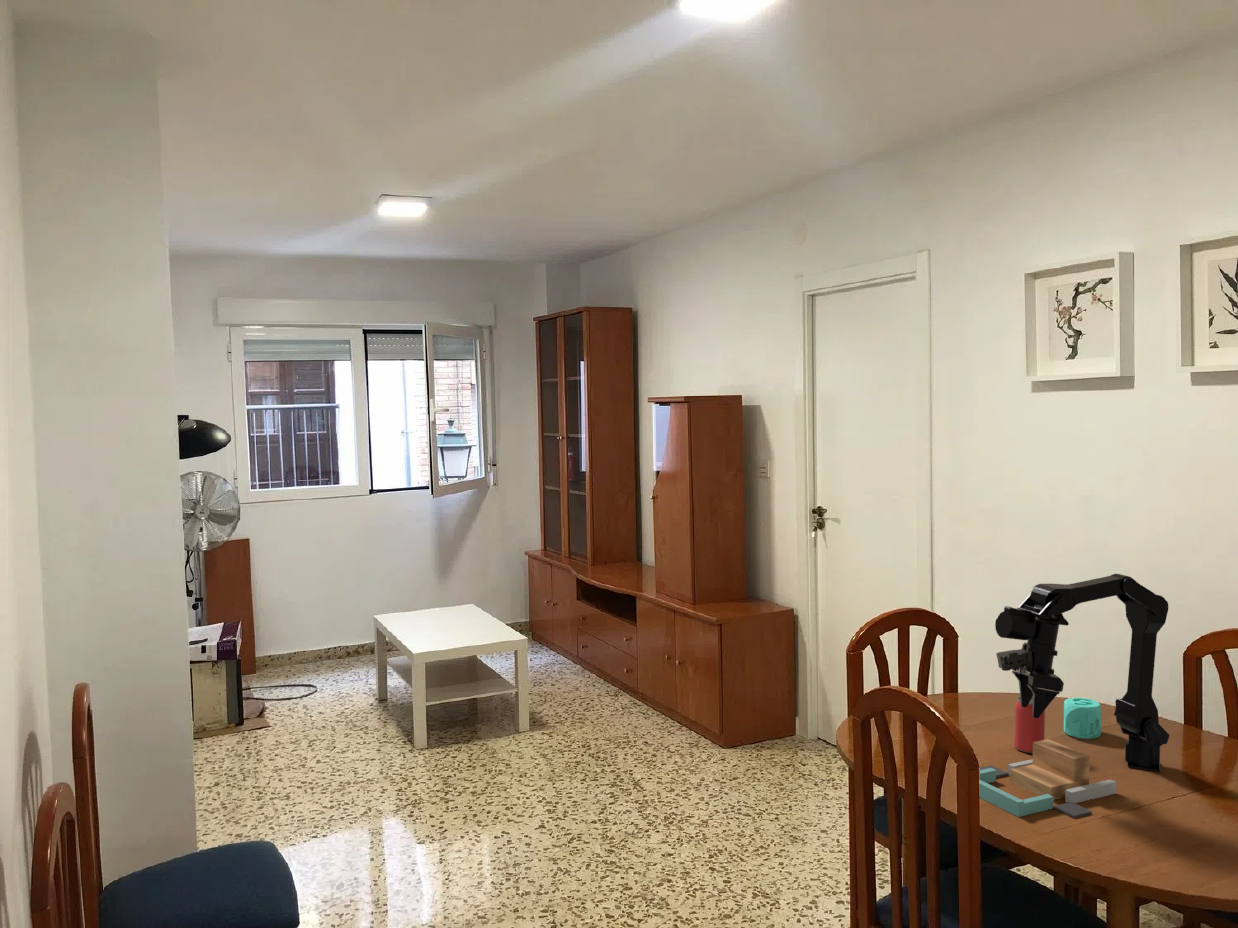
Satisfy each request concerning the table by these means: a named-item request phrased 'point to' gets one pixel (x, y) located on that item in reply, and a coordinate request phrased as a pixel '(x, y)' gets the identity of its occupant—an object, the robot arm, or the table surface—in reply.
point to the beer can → (1027, 727)
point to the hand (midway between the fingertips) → (1029, 712)
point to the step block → (1052, 770)
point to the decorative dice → (1082, 718)
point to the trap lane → (1039, 802)
